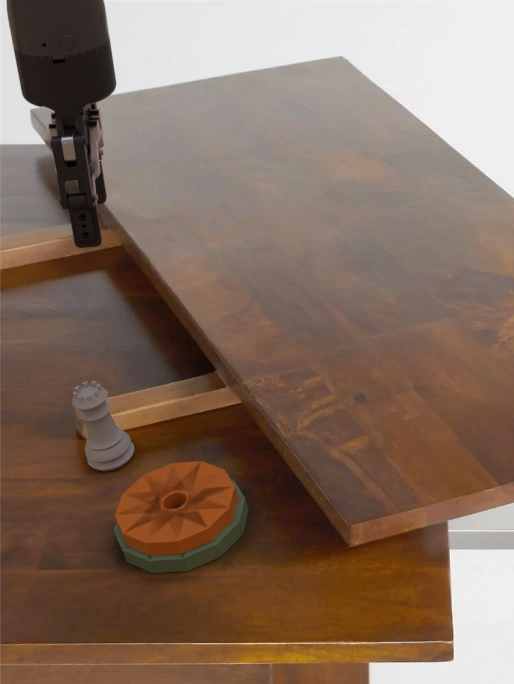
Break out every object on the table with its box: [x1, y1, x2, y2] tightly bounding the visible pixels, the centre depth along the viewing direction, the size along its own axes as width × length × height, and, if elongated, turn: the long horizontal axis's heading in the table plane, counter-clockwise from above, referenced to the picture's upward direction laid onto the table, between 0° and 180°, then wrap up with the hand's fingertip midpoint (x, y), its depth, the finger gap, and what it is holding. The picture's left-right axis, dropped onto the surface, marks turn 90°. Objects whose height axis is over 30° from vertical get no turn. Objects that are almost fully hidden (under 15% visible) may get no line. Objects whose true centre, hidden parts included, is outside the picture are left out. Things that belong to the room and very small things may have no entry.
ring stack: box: [112, 460, 250, 574], centre depth 117 cm, size 11×11×3 cm
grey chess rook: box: [71, 380, 135, 472], centre depth 125 cm, size 4×4×8 cm
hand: (92, 223), depth 118 cm, fingers open, 8 cm apart
